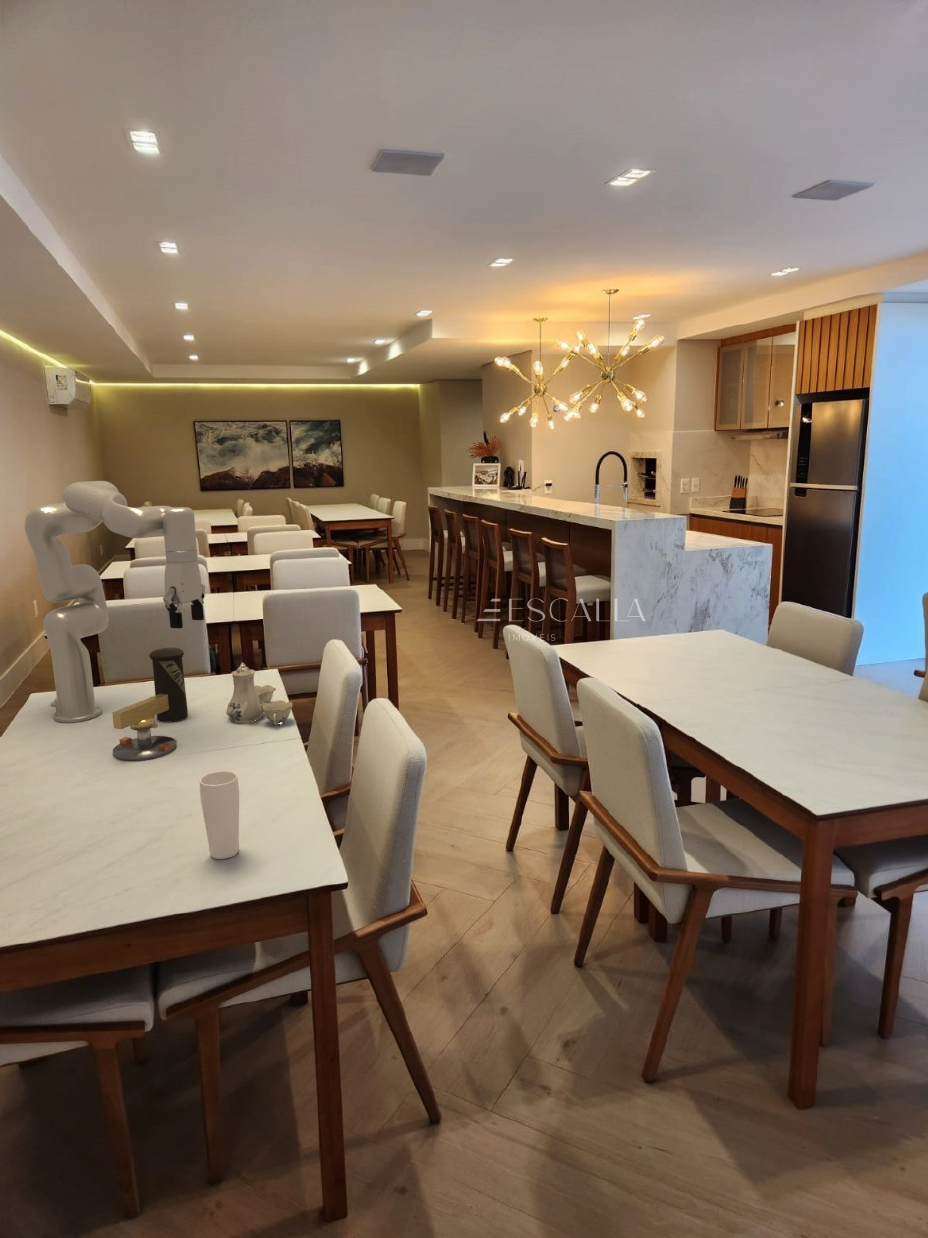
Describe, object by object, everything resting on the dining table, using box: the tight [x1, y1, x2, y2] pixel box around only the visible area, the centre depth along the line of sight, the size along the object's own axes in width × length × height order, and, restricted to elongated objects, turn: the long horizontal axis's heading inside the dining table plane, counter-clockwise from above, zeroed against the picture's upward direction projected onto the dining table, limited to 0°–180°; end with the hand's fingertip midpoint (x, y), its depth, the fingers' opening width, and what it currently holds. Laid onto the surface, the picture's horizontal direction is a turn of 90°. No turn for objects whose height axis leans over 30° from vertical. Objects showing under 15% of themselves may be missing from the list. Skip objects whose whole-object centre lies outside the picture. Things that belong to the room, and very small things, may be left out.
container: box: [148, 647, 189, 723], centre depth 222 cm, size 9×9×20 cm
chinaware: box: [226, 662, 294, 726], centre depth 223 cm, size 28×17×17 cm, turn 34°
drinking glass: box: [199, 770, 240, 860], centre depth 147 cm, size 7×7×15 cm
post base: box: [112, 728, 178, 762], centre depth 200 cm, size 15×15×6 cm
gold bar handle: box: [111, 694, 169, 731], centre depth 198 cm, size 9×16×6 cm, turn 158°
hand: (187, 623), depth 203 cm, fingers open, 9 cm apart
